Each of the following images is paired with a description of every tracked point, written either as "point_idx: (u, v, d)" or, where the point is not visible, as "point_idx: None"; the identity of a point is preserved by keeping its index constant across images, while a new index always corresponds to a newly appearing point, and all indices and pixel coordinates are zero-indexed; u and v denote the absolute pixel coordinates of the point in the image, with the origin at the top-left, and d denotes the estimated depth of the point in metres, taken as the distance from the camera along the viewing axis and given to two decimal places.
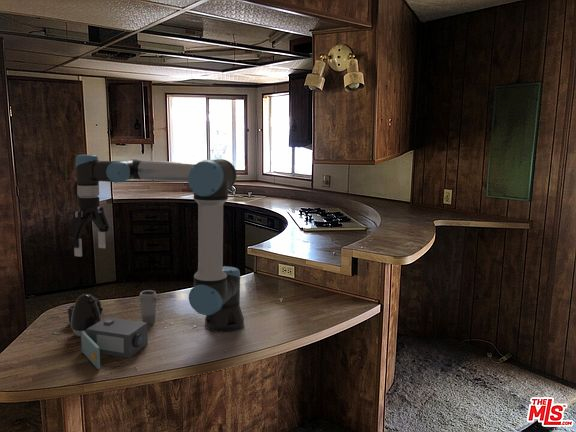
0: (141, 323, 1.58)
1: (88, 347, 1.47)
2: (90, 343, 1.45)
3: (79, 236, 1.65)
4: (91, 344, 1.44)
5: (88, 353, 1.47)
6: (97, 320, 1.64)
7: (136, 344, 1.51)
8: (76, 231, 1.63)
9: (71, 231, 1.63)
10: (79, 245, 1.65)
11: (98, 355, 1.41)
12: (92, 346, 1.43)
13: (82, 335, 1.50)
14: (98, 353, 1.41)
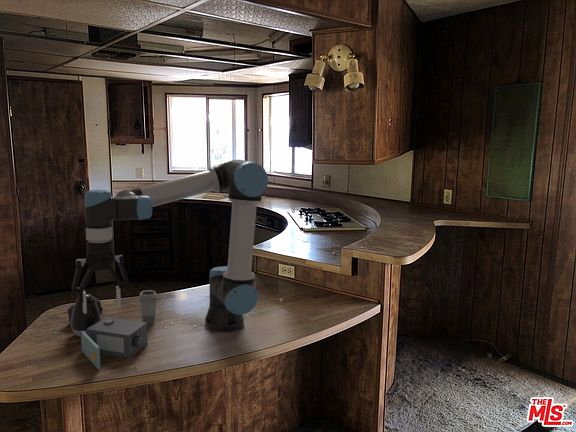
0: (141, 323, 1.58)
1: (88, 347, 1.47)
2: (90, 343, 1.45)
3: (82, 289, 1.39)
4: (91, 344, 1.44)
5: (88, 353, 1.47)
6: (97, 320, 1.64)
7: (136, 344, 1.51)
8: (75, 283, 1.38)
9: (73, 283, 1.39)
10: (83, 300, 1.40)
11: (98, 355, 1.41)
12: (92, 346, 1.43)
13: (82, 335, 1.50)
14: (98, 353, 1.41)
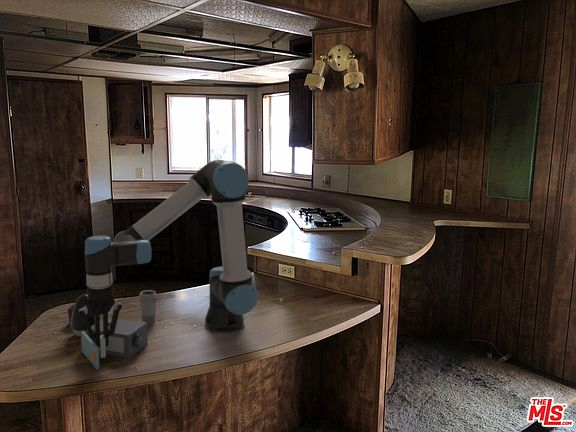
0: (141, 323, 1.58)
1: (88, 347, 1.46)
2: (89, 343, 1.44)
3: (98, 335, 1.44)
4: (91, 344, 1.43)
5: (88, 353, 1.47)
6: None
7: (136, 344, 1.51)
8: (90, 330, 1.42)
9: None
10: (100, 345, 1.45)
11: (97, 355, 1.41)
12: (92, 346, 1.43)
13: (82, 335, 1.50)
14: (97, 353, 1.40)
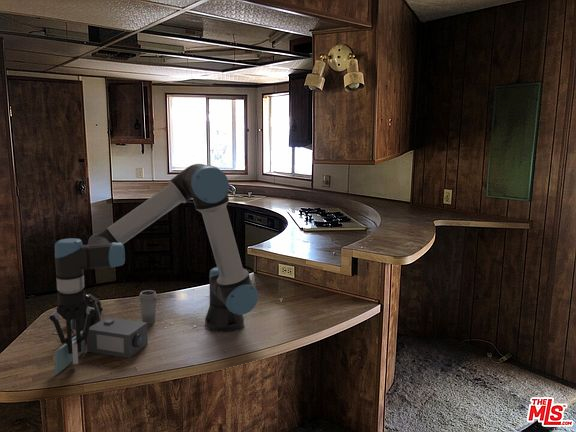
0: (141, 323, 1.58)
1: None
2: None
3: (70, 341, 1.39)
4: None
5: None
6: (97, 320, 1.64)
7: (136, 344, 1.51)
8: (60, 336, 1.38)
9: None
10: (72, 351, 1.40)
11: (55, 360, 1.37)
12: None
13: None
14: (55, 357, 1.37)
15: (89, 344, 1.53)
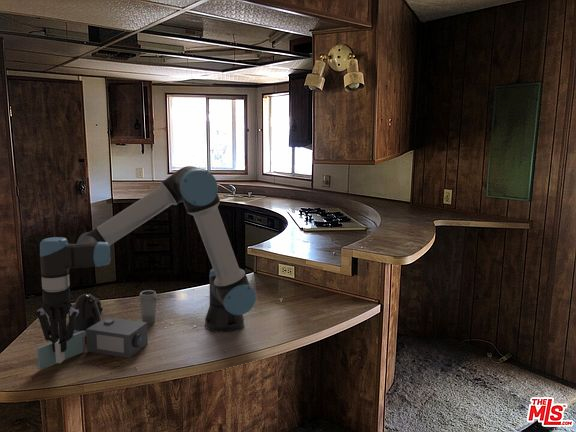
0: (141, 323, 1.58)
1: None
2: None
3: (53, 339, 1.40)
4: None
5: None
6: (97, 320, 1.64)
7: (136, 344, 1.51)
8: (45, 332, 1.40)
9: None
10: None
11: (38, 356, 1.39)
12: None
13: None
14: (38, 354, 1.39)
15: (89, 344, 1.53)
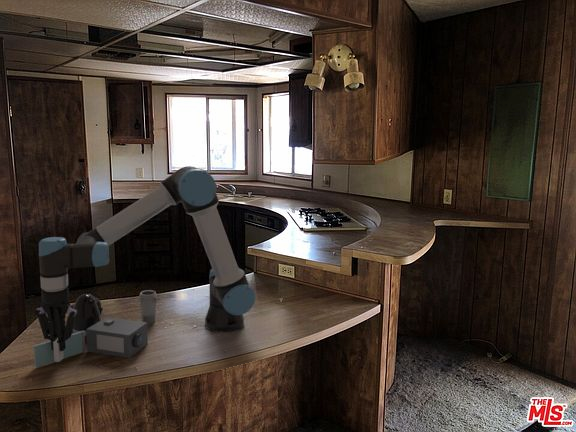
0: (141, 323, 1.58)
1: None
2: None
3: (51, 338, 1.41)
4: None
5: None
6: (97, 320, 1.64)
7: (136, 344, 1.51)
8: (43, 331, 1.41)
9: None
10: (54, 348, 1.42)
11: (34, 353, 1.41)
12: None
13: None
14: (34, 351, 1.40)
15: (89, 344, 1.53)
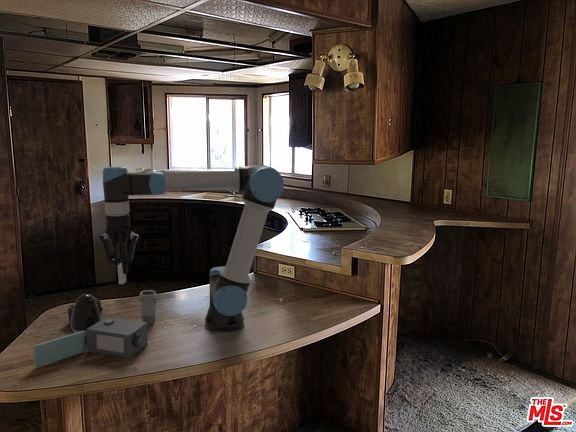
0: (141, 323, 1.58)
1: None
2: None
3: (116, 261, 1.51)
4: None
5: None
6: (97, 320, 1.64)
7: (136, 344, 1.51)
8: (108, 255, 1.51)
9: None
10: (118, 271, 1.52)
11: (34, 353, 1.41)
12: None
13: None
14: (34, 351, 1.40)
15: (89, 344, 1.53)
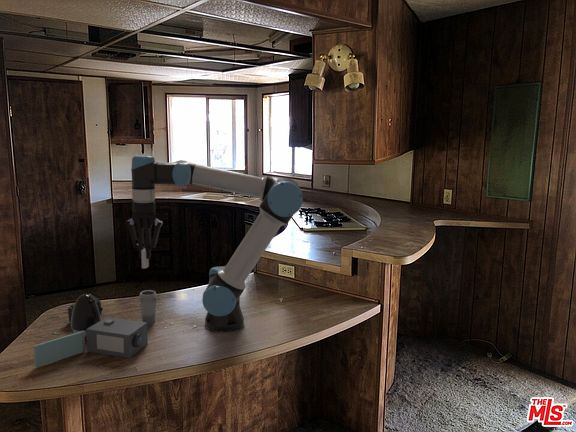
0: (141, 323, 1.58)
1: None
2: None
3: (140, 246, 1.58)
4: None
5: None
6: (97, 320, 1.64)
7: (136, 344, 1.51)
8: (133, 240, 1.58)
9: None
10: (141, 256, 1.59)
11: (34, 353, 1.41)
12: None
13: None
14: (34, 351, 1.40)
15: (89, 344, 1.53)
